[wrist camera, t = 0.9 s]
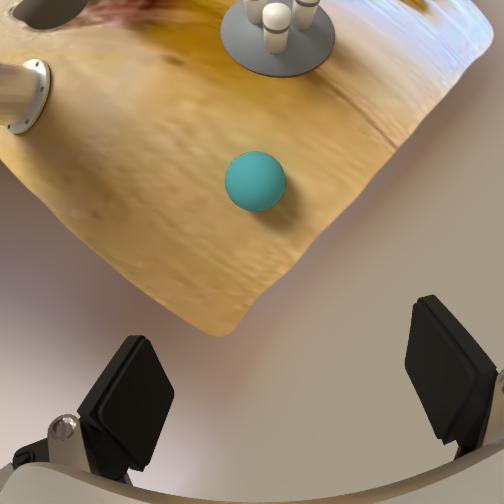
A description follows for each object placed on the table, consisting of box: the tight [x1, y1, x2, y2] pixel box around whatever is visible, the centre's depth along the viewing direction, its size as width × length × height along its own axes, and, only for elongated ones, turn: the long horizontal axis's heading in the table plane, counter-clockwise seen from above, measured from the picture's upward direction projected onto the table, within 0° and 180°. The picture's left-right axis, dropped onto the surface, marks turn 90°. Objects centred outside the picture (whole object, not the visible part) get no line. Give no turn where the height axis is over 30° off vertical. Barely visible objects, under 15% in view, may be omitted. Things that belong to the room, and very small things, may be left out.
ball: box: [225, 152, 286, 211], centre depth 27 cm, size 6×6×6 cm
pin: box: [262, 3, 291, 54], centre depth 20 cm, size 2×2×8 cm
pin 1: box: [244, 0, 268, 24], centre depth 19 cm, size 2×2×8 cm
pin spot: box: [221, 0, 334, 76], centre depth 23 cm, size 13×13×1 cm
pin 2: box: [291, 0, 320, 30], centre depth 19 cm, size 2×2×8 cm
